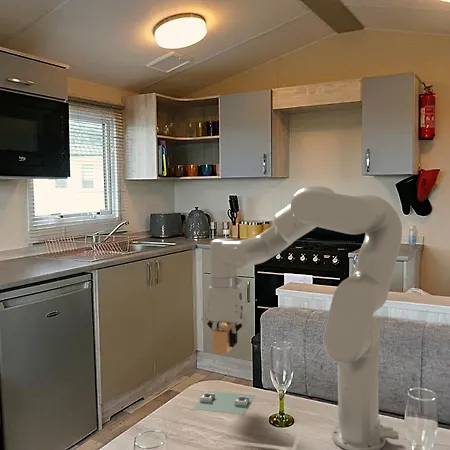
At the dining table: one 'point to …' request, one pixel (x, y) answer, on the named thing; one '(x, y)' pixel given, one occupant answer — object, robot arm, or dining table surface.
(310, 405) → the dining table surface
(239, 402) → the chain ends
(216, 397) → the board
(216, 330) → the wooden block with studs
